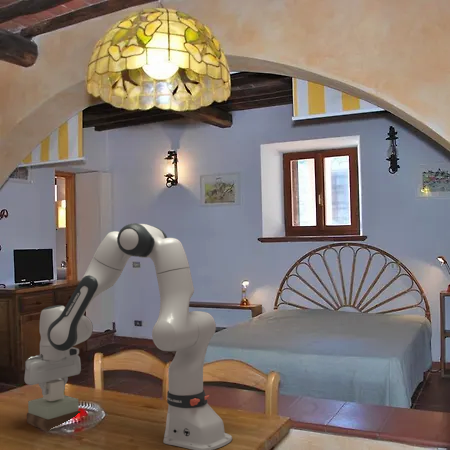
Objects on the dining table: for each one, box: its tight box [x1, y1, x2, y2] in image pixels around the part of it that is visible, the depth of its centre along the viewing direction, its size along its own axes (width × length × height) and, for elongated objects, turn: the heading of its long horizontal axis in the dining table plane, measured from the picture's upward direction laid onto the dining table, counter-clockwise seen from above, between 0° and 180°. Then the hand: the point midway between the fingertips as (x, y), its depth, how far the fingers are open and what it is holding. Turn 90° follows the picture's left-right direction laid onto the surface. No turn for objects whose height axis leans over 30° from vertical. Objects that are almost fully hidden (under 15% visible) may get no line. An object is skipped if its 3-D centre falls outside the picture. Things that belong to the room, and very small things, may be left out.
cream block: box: [42, 379, 64, 401], centre depth 196 cm, size 5×5×6 cm
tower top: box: [27, 394, 79, 420], centre depth 197 cm, size 12×12×4 cm
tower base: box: [26, 410, 82, 432], centre depth 196 cm, size 13×13×4 cm
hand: (53, 392), depth 196 cm, fingers closed on cream block, 5 cm apart
